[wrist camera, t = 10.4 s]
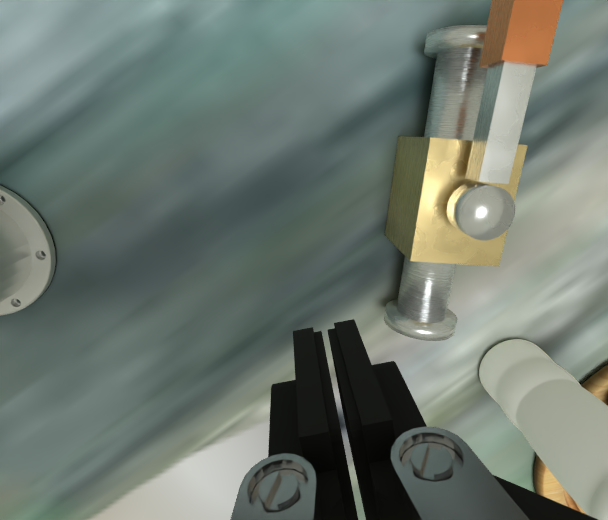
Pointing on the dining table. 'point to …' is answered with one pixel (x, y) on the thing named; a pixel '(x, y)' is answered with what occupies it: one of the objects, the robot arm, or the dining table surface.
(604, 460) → the water bottle
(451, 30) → the valve pipe
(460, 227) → the valve lever
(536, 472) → the wooden plate with food
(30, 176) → the dining table surface
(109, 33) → the dining table surface
